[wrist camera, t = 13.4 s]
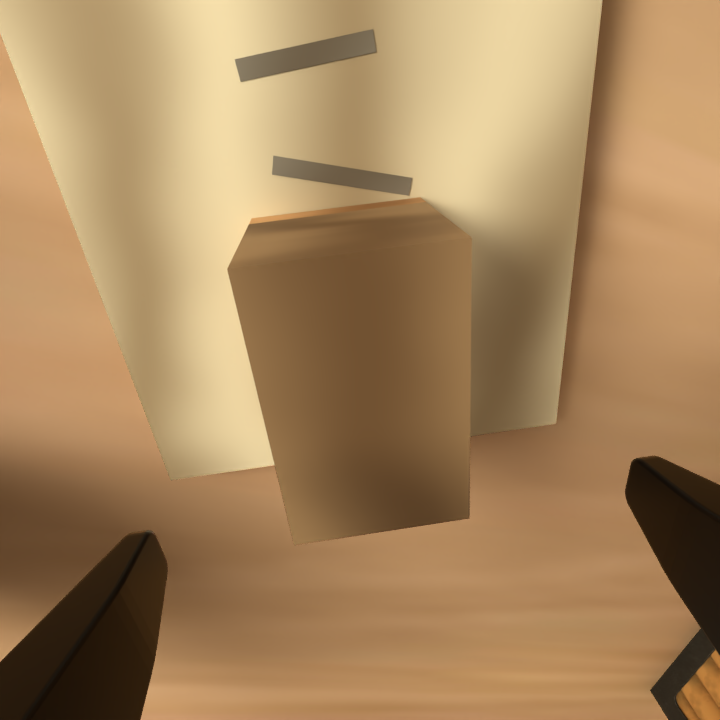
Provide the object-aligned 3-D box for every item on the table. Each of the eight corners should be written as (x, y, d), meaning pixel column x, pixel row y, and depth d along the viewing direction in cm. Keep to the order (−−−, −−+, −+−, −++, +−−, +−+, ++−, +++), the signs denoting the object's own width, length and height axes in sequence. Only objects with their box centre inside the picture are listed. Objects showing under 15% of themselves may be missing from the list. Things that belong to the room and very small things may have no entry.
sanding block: (297, 436, 18) (293, 545, 13) (251, 218, 14) (227, 269, 10) (429, 417, 18) (469, 518, 14) (420, 197, 14) (471, 237, 10)
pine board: (179, 455, 19) (170, 481, 18) (-143, -449, 9) (-222, -546, 8) (539, 403, 20) (556, 424, 19) (618, -502, 10) (669, -600, 8)
